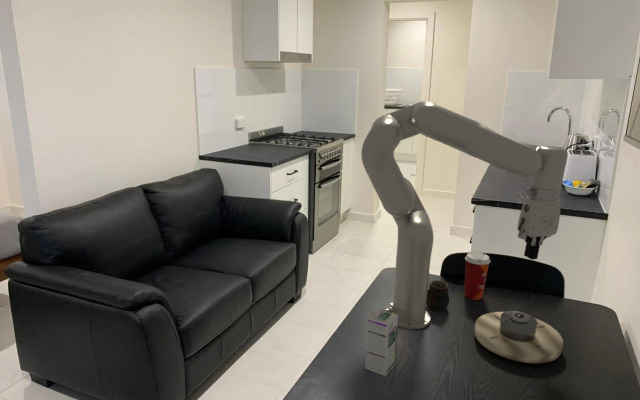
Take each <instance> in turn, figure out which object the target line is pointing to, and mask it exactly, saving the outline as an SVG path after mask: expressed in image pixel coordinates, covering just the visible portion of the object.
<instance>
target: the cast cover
mask: <svg viewBox="0 0 640 400" xmlns="http://www.w3.org/2000/svg"><path fill="white" fill-rule="evenodd" d="M502 312H503V313H502V314H501V320H500V327H499V331H500V332H501V334H502V335H504V336H505V337H507V338H509V339H512V340H515V341H520V342H528V341H532V340H533V339H534V338H535V334H536V328H537V321H536V319H537V318H536V317H534V316H532V315H531V314H529V313H526V312H522V311H519V310H506V311H502ZM535 318H536V319H535Z"/></svg>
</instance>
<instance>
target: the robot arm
mask: <svg viewBox="0 0 640 400" xmlns="http://www.w3.org/2000/svg"><path fill="white" fill-rule="evenodd" d="M417 135H422V136H424V137H426V138H429V139H431V140H433V141H436V142H439V143H441V144H443V145H446V146H448V147H451V148H453V149H455V150H457V151H460V152H462V153H464V154H466V155H468V156H471V157H473V158H475V159H478V160H481V161H483V162H485V163H487V164H489V165H492V166H494V167H497V168H499V169H500V170H503V171H506V172H508V173H511V174H512V175H516V176H518V177H521V178H529V177H530V181H529V185H528V186H529V187H528V189H526V194H527V195H526V196H525V199H524V200H523V204H522V207H521V210H520V213H519V217H518V222H517V231H518V234H517V237H518V238H519V239H521V240H524V242H525V243H526V245H525V249H524V253H523V255H524V257H526V258H527V259H529V260H531V261H533V260H537V259H538V256H539V252H540V247H541V246H542V245H543V244H544V241H545V239H548V238H550V237H552V236H554V235H556V234H557V232H558V229H559V224H560V216H561V199H559V198H560V193H561V189H562V184H563V180H564V175H565V171H566V167H567V166H566V165H567V162H568V161H567V160H568V155H569V154H568V150H567V149H565V148H564V147H560V146H554V145H536V144H532V143H531V144H530V143H526V142H521V141H515V140H513V139H511V138H509V137H506V136H504V135H502V134H499V133H498V132H496V131H494V130H492V129H491V128H489V127H488V126H486V125H485V124H482V123H481V122H479V121H477V120H474V119H471V118H469V117H467V116H464V115H462V114H460V113H457V112H455V111H453V110H451V109H448V108H445V107H443V106H441V105H438V104H437V103H435V102H433V101H430V100H422V101H419V102H416V103H414V104H412V105H408V106H406V107H404V108H400V109H398V110H394V111H392V112H389V113H386V114H383V115H382V116H379V117H378V118H376V119H375V121H374V122H373V123H372V125H371V128H370V129H369V132H368V133H367V135H366V136H365V139H364V140H363V144H362V147H361V161H362V166H363V167H364V170H365V172H366V175H367V176H368V178H369V179H370V182H371V185H372V186H373V188H374V190H375V192H376V195H377V196H378V198H379V200H380V202H381V205H382V207H383V209H384V210H385V212H387V213H388V214H389V215H390V216H392V218H393V220H394V222H395V224H396V226H397V243H396V244H397V246H396V248H397V249H396V256H395V257H396V258H395V274H394V275H395V276H394V289H393V301H392V302H390V303H389V306H388V307H386V308H385V309H386V310H389V311H392V312H395V313H397V314H398V326H397V328H401V329H405V330H421V329H424V328H427V327H428V326H429V325H430V323H431V316H430V313H429V312H428V311H427V304H426V303H427V292H428V289H429V282H430V281H429V279H430V269H431V268H430V266H431V258H432V251H433V247H434V230H433V226H432V223H431V220H430V216H429V215H428V212H427V210H426V209H425V207H424V205H423V203H422V201H421V199H420V197H419V195H418V193H417V191H416V188H415V187H414V185H413V184H412V182H411V181H410V180H409V179H407V178H406V177H404V175H403V173H402V171H401V169H400V167H399V165H398V163H397V162H396V161H397V160H396V158H395V150H396V148H397V147H398V146H399V145H400V144H401V141H404V140H407V139H409V138H412V137H415V136H417Z"/></svg>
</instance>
